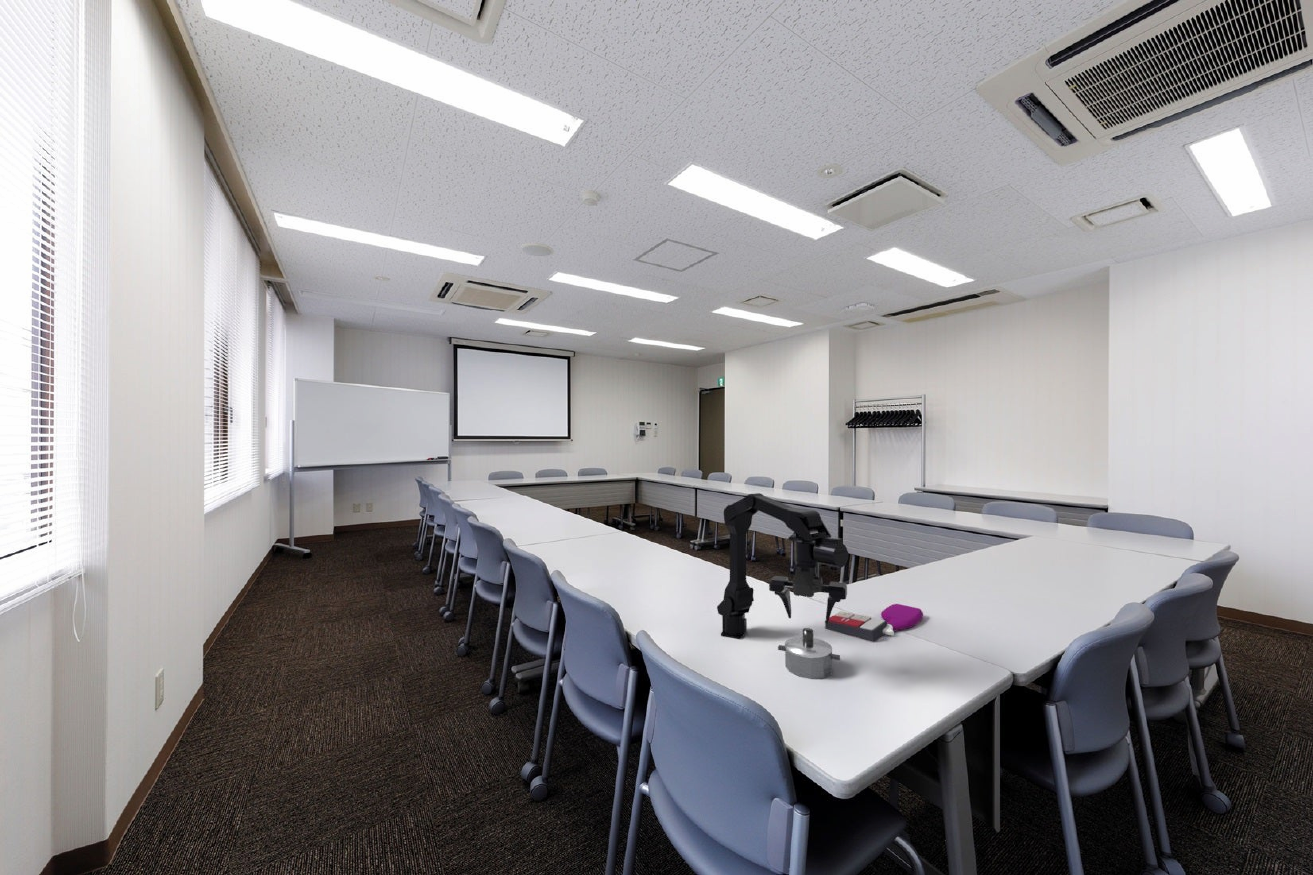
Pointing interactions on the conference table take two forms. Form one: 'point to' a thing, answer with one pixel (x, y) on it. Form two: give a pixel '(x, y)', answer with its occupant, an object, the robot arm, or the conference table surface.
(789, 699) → the conference table surface
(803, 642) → the lid
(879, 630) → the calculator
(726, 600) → the robot arm
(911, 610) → the purple squeeze pouch
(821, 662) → the pot
